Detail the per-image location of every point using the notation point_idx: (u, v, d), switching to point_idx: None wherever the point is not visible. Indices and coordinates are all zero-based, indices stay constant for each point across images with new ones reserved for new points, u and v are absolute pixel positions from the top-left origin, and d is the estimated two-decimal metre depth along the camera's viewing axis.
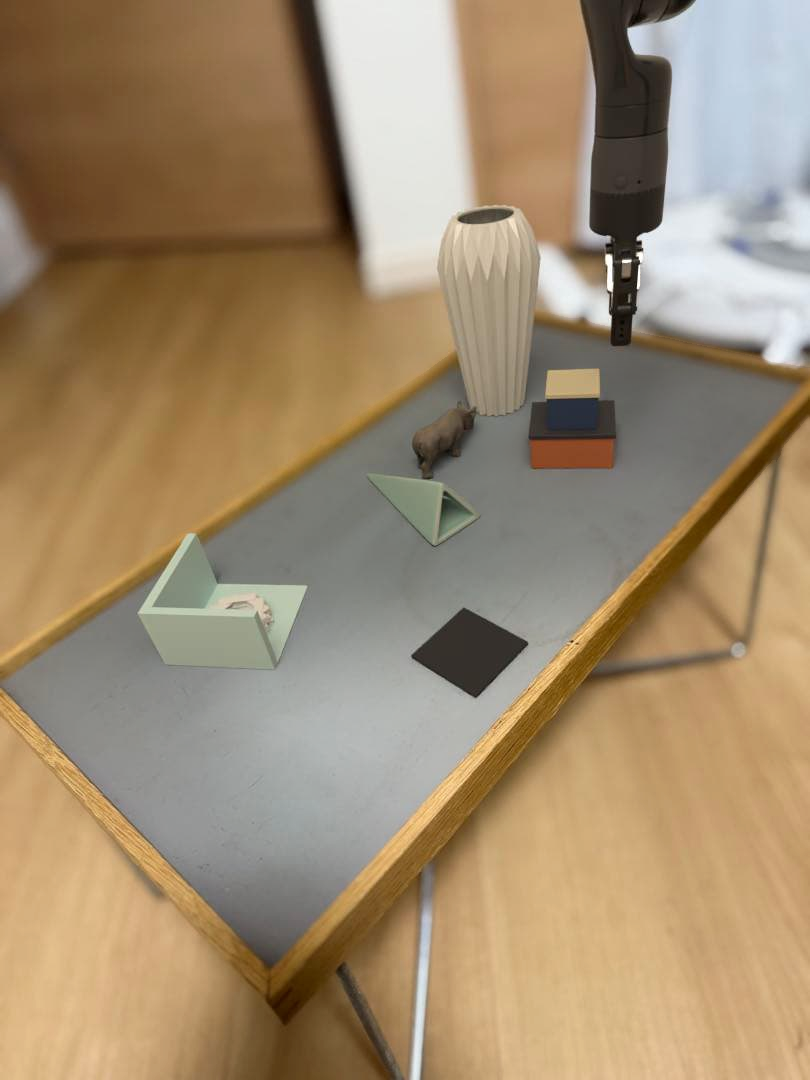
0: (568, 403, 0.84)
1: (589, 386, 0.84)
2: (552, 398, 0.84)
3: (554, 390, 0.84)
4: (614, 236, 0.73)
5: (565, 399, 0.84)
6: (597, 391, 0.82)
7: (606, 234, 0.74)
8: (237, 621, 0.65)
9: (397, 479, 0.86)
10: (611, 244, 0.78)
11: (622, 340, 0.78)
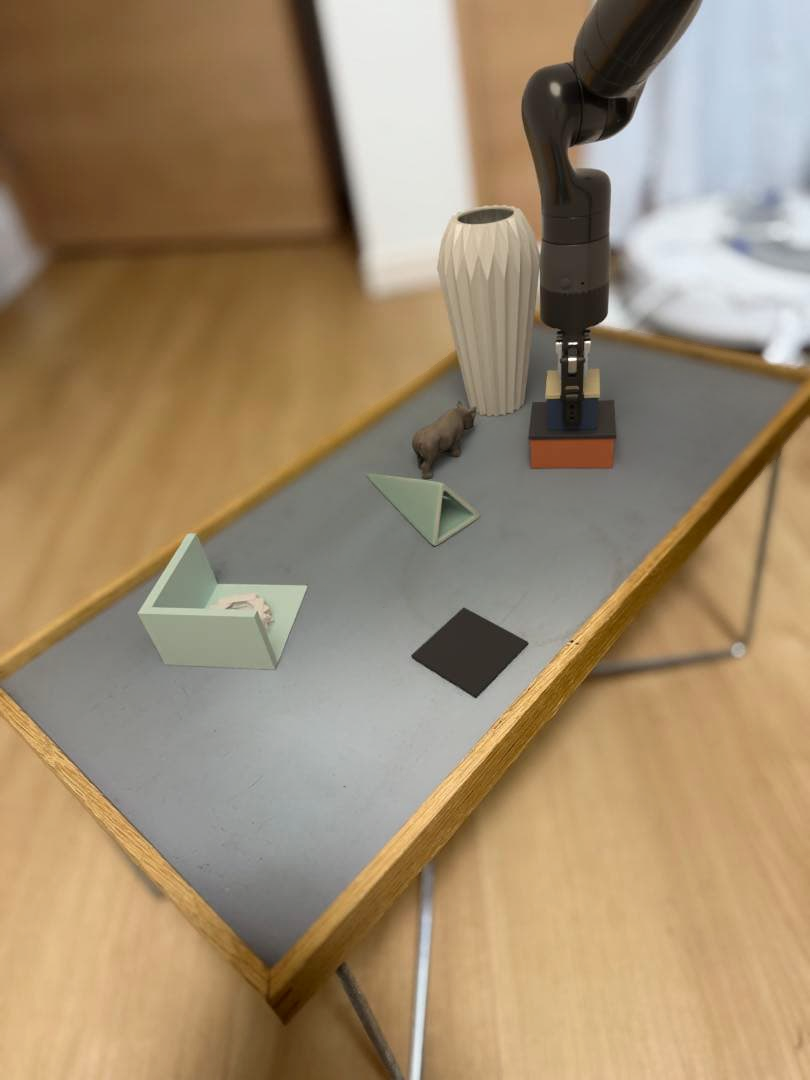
0: None
1: (589, 386, 0.84)
2: (552, 398, 0.84)
3: (554, 390, 0.84)
4: (562, 329, 0.78)
5: None
6: (597, 391, 0.82)
7: (554, 327, 0.78)
8: (237, 621, 0.65)
9: (397, 479, 0.86)
10: (562, 331, 0.82)
11: (572, 422, 0.84)
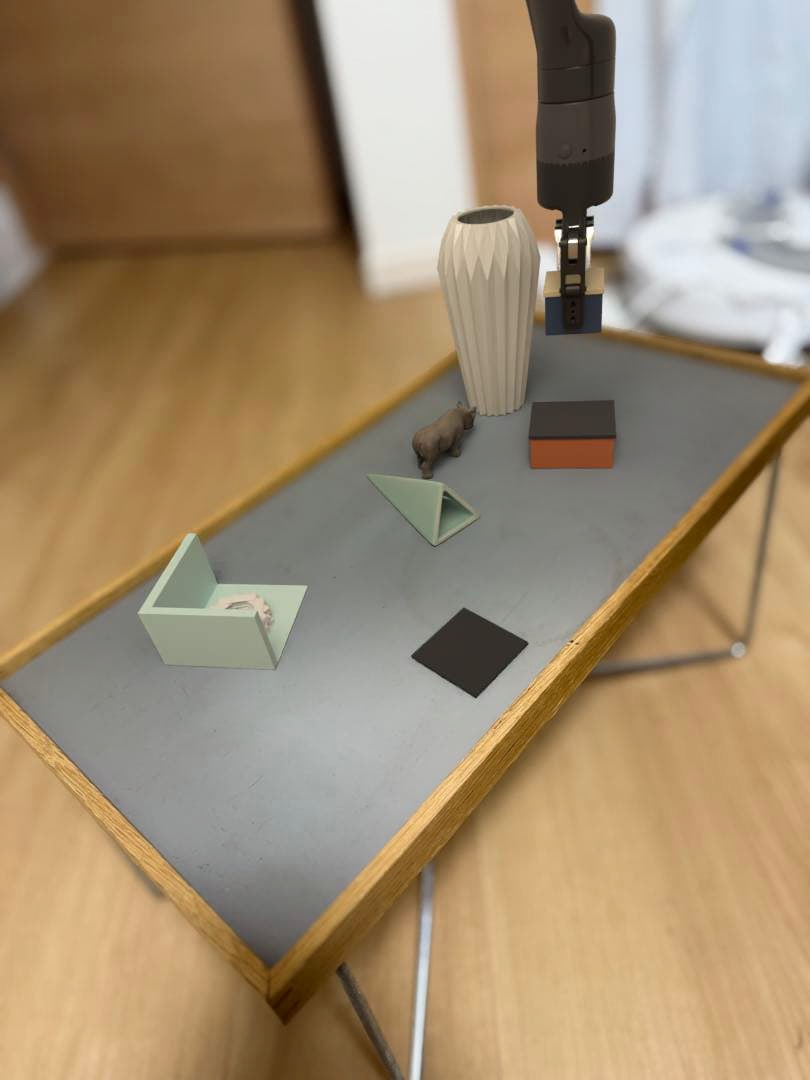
0: None
1: (592, 283, 0.75)
2: (551, 296, 0.75)
3: (553, 288, 0.75)
4: (561, 210, 0.69)
5: None
6: (601, 286, 0.74)
7: (553, 208, 0.69)
8: (237, 621, 0.65)
9: (397, 479, 0.86)
10: (562, 220, 0.74)
11: (574, 323, 0.75)
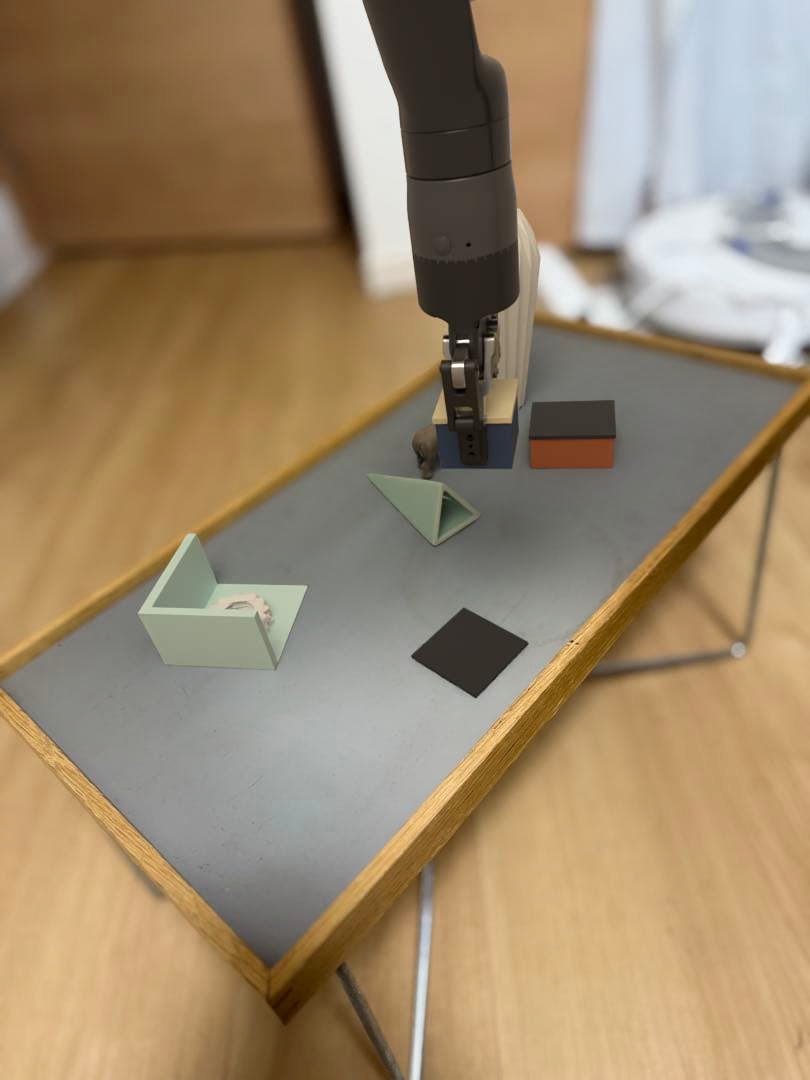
0: None
1: (498, 406, 0.56)
2: (443, 423, 0.56)
3: None
4: (445, 319, 0.50)
5: None
6: (508, 414, 0.55)
7: (435, 316, 0.50)
8: (237, 621, 0.65)
9: (397, 479, 0.86)
10: None
11: (473, 459, 0.56)
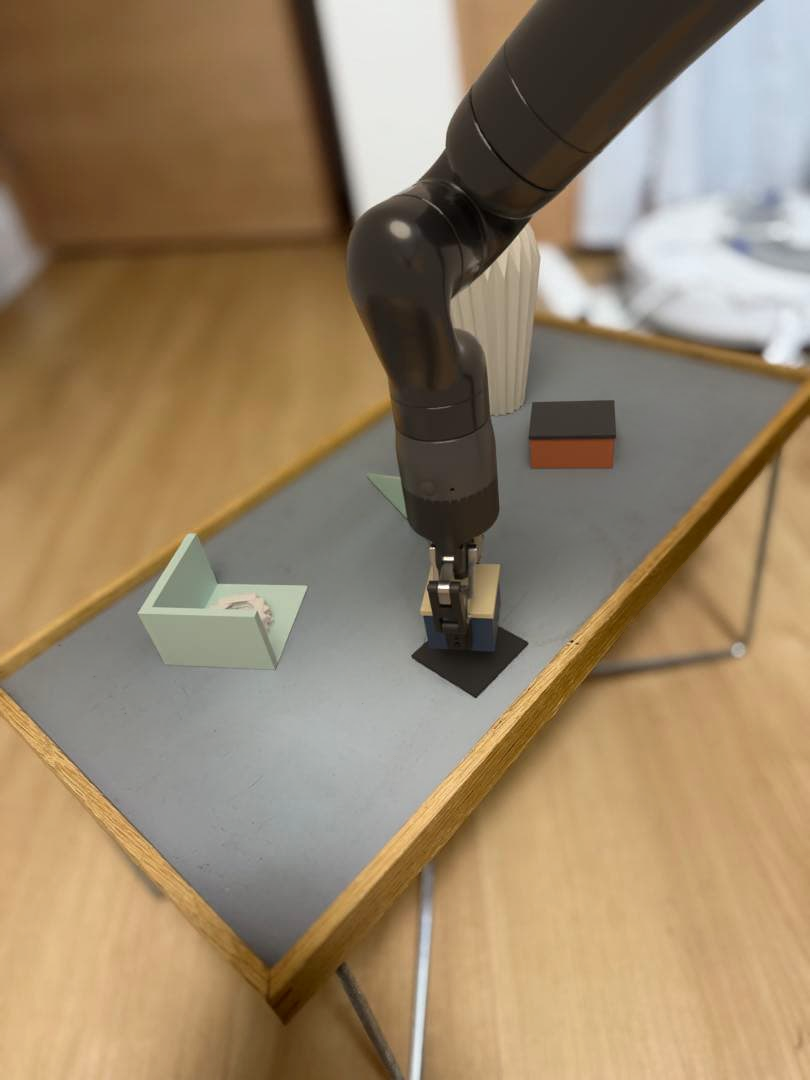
0: None
1: (480, 599, 0.61)
2: (430, 615, 0.61)
3: None
4: (431, 541, 0.55)
5: None
6: (490, 610, 0.59)
7: (422, 536, 0.55)
8: (237, 621, 0.65)
9: (397, 479, 0.86)
10: None
11: (459, 648, 0.61)
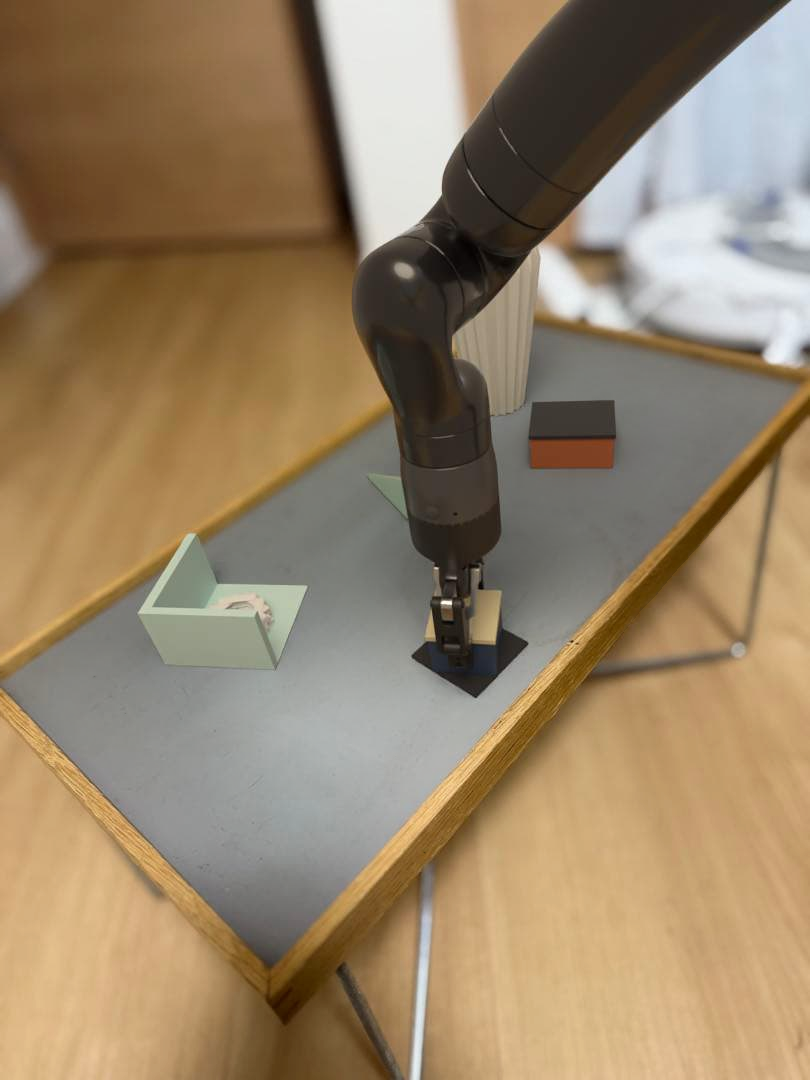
0: None
1: (483, 625, 0.63)
2: (434, 640, 0.63)
3: None
4: (435, 562, 0.56)
5: None
6: (493, 636, 0.61)
7: (426, 557, 0.57)
8: (237, 621, 0.65)
9: (397, 479, 0.86)
10: None
11: (460, 667, 0.61)
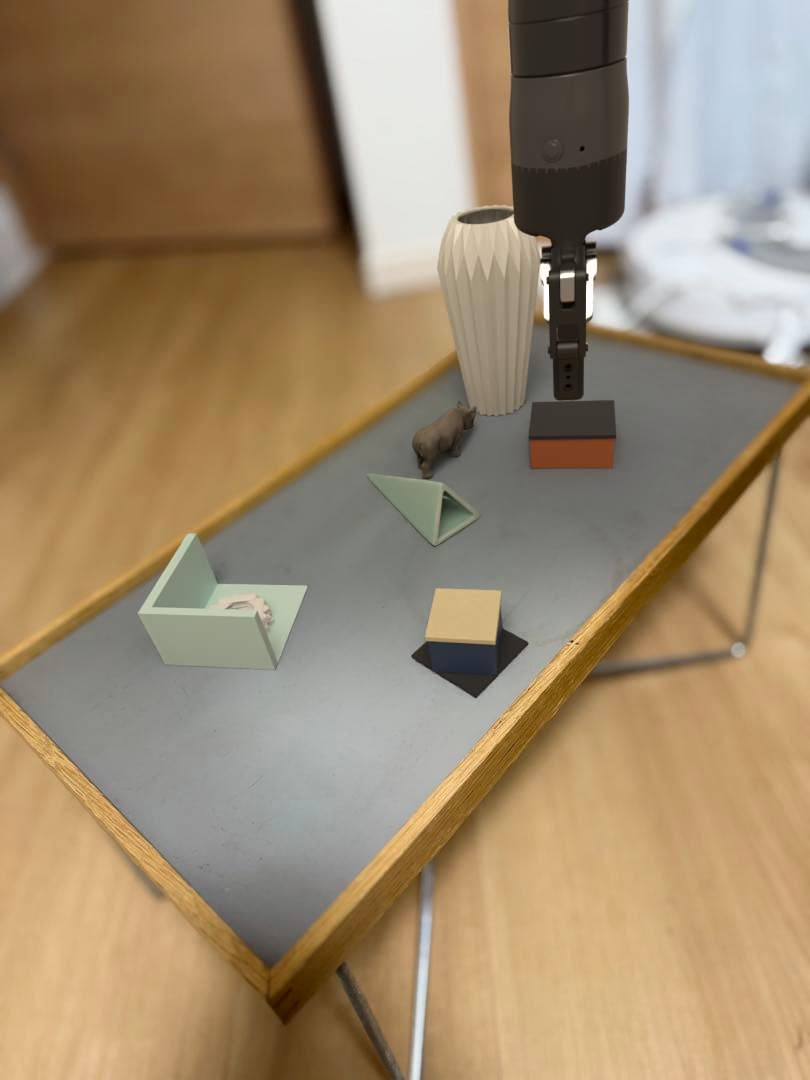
0: (456, 647, 0.63)
1: (483, 625, 0.63)
2: (434, 640, 0.63)
3: (437, 629, 0.63)
4: (549, 236, 0.47)
5: (451, 642, 0.63)
6: (493, 636, 0.61)
7: (537, 233, 0.47)
8: (237, 621, 0.65)
9: (397, 479, 0.86)
10: (550, 248, 0.51)
11: (570, 393, 0.52)
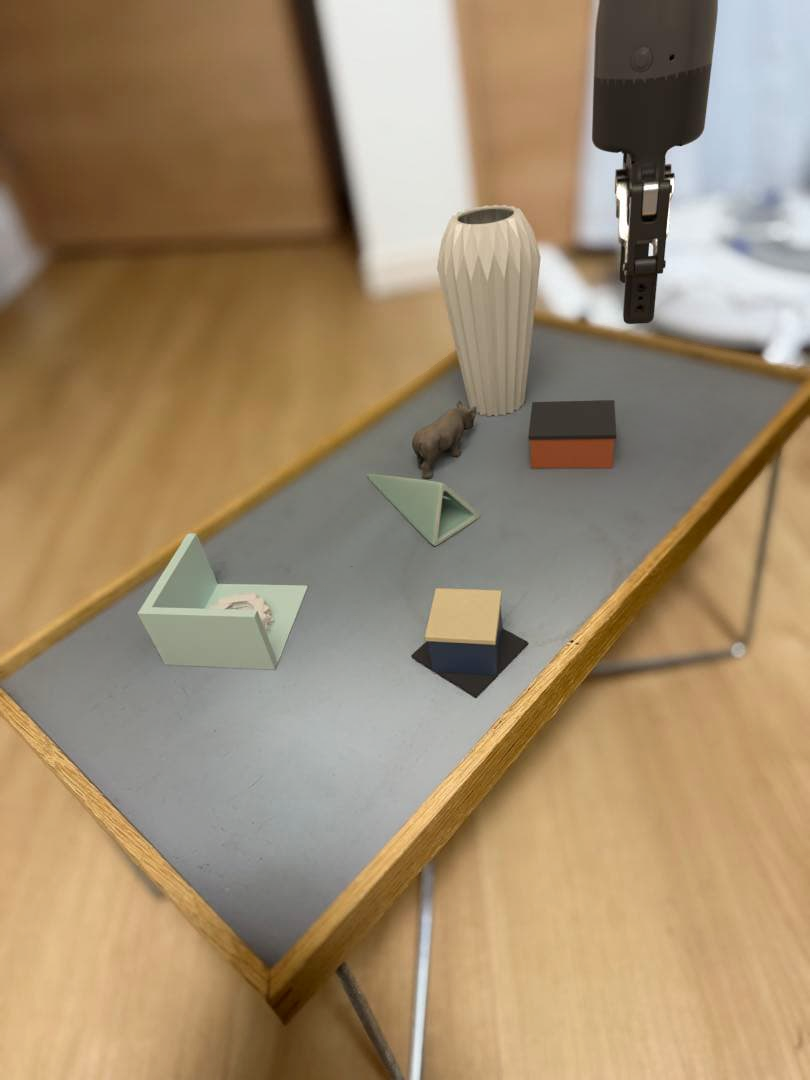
0: (456, 647, 0.63)
1: (483, 625, 0.63)
2: (434, 640, 0.63)
3: (437, 629, 0.63)
4: (631, 151, 0.47)
5: (451, 642, 0.63)
6: (493, 636, 0.61)
7: (618, 148, 0.48)
8: (237, 621, 0.65)
9: (397, 479, 0.86)
10: (625, 170, 0.52)
11: (641, 314, 0.52)
